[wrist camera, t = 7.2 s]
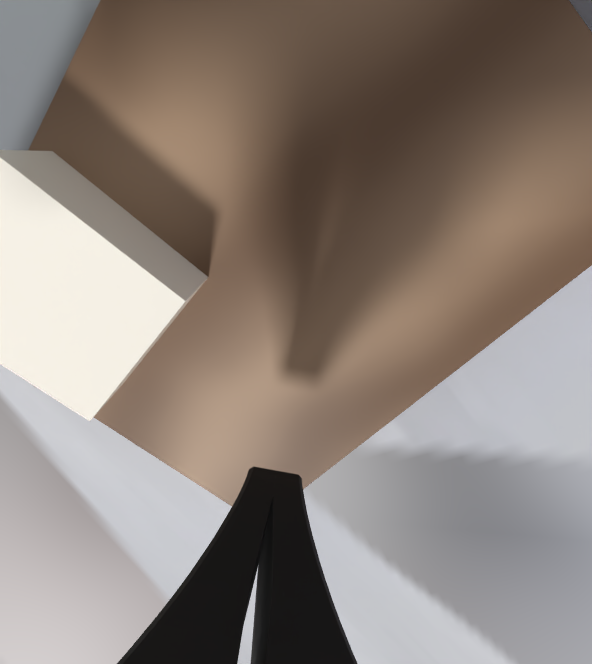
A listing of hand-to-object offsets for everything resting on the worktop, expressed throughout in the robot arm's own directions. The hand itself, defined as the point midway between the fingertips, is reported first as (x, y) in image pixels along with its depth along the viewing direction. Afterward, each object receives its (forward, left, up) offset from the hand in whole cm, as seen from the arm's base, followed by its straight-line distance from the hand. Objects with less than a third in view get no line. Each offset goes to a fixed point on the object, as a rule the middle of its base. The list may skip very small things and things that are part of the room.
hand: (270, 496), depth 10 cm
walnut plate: (+4, -4, -5) cm, 8 cm away
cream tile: (+7, 0, -3) cm, 8 cm away
